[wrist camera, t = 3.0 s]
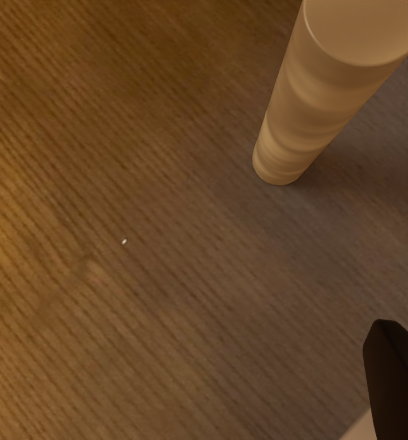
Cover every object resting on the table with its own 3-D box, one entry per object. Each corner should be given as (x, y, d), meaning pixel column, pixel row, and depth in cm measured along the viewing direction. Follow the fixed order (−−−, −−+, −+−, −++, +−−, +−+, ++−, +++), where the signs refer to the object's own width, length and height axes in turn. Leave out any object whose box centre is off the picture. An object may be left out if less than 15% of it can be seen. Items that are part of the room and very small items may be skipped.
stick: (316, 158, 22) (456, 4, 9) (280, 196, 22) (373, 90, 9) (276, 123, 23) (359, -71, 10) (241, 160, 22) (277, 10, 10)
